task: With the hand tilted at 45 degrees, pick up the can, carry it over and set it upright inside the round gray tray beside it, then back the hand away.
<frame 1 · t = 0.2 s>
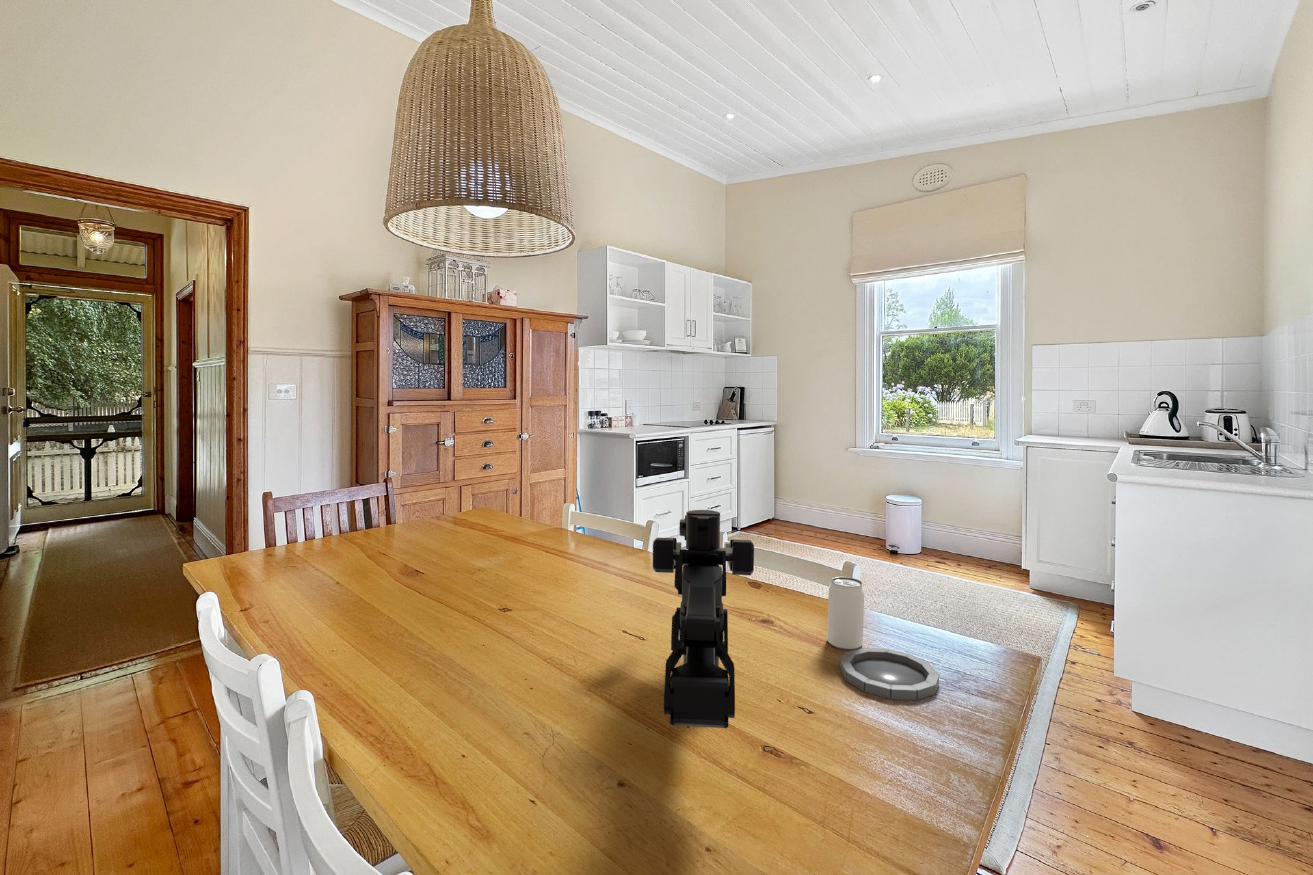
hand: (703, 545, 120), 17 cm above the table, tool horizontal, fingers open, 9 cm apart
can: (844, 644, 114), on the table
round gray tray: (888, 676, 101), on the table
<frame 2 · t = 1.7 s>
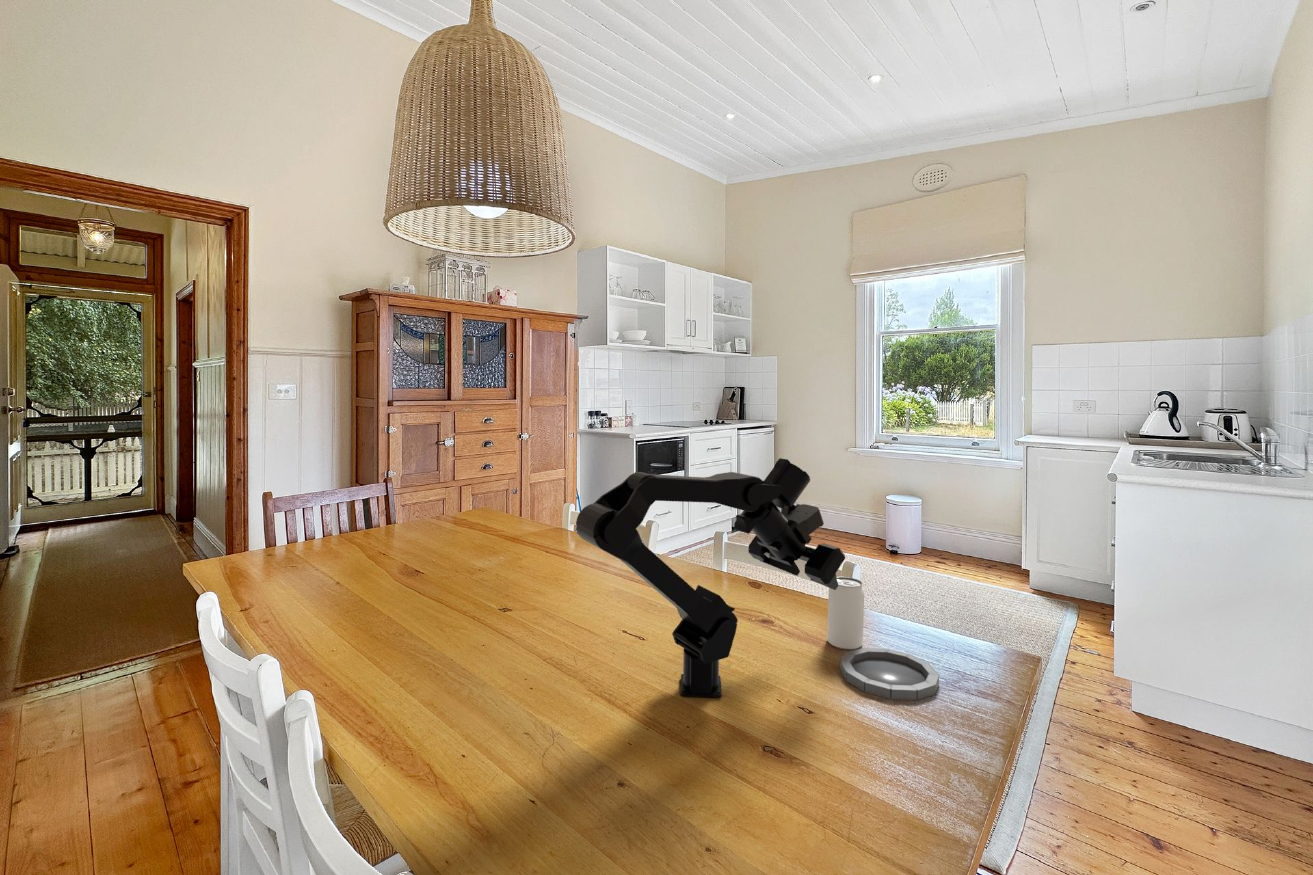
hand: (816, 580, 109), 14 cm above the table, tool tilted 45°, fingers open, 9 cm apart
nothing on the table moved.
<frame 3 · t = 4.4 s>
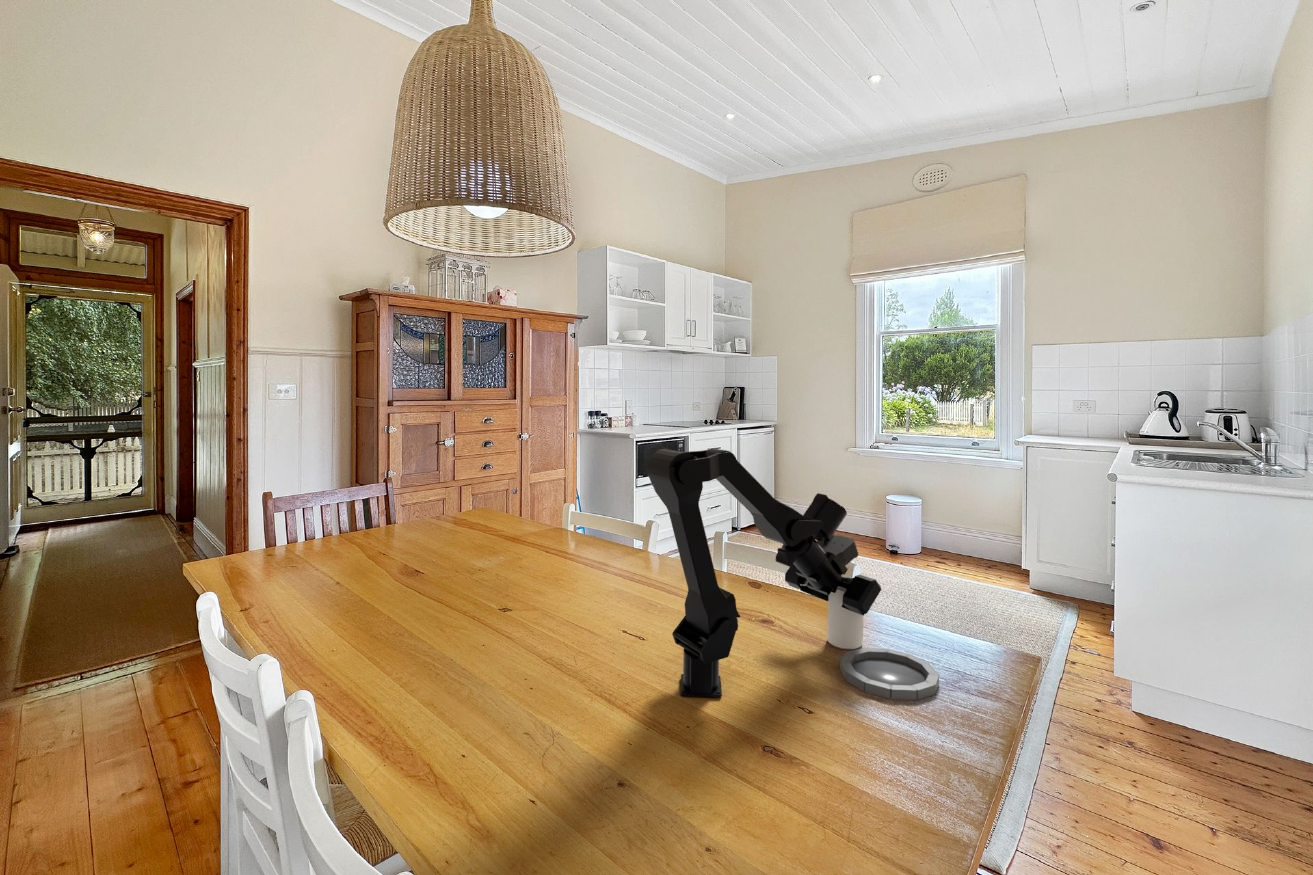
hand: (850, 607, 114), 7 cm above the table, tool tilted 45°, fingers closed on can, 6 cm apart
can: (844, 644, 114), on the table, touching gripper
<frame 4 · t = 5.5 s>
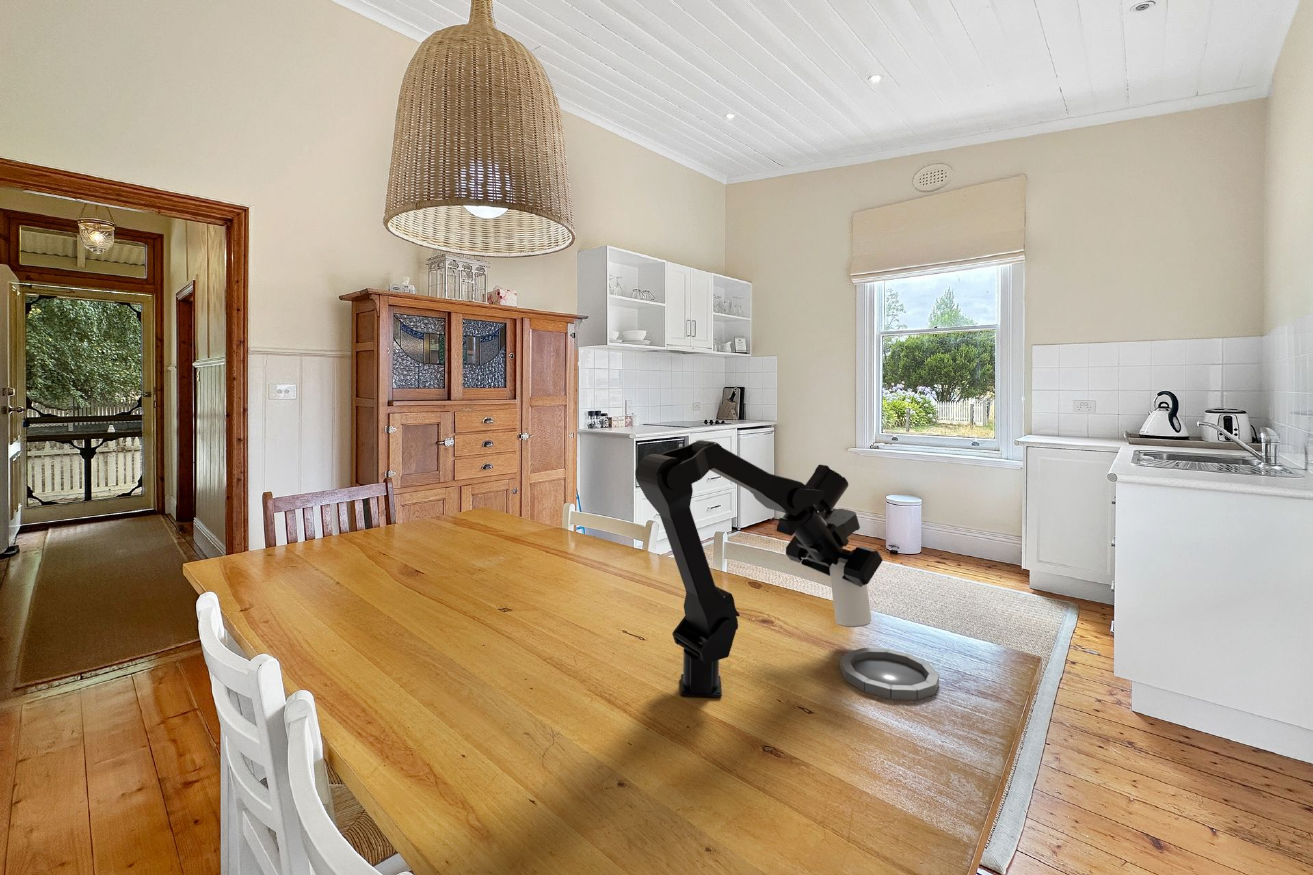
hand: (851, 581, 114), 12 cm above the table, tool tilted 45°, fingers closed on can, 6 cm apart
can: (853, 623, 112), point 4 cm above the table, touching gripper
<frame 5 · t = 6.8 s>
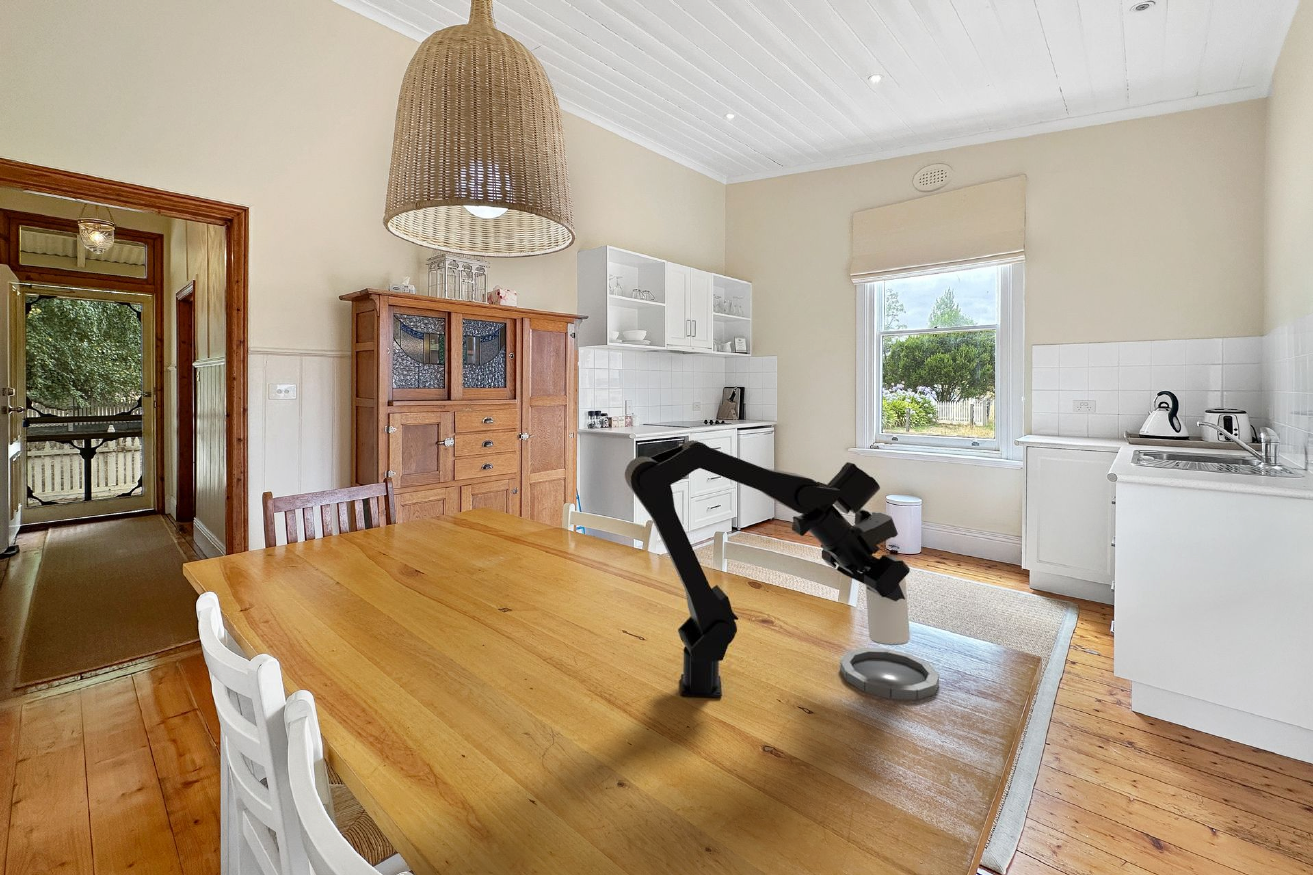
hand: (891, 594, 102), 13 cm above the table, tool tilted 45°, fingers closed on can, 6 cm apart
can: (889, 641, 101), point 6 cm above the table, touching gripper
when the fingers open (9 cm above the table, at t = 8.6 s): can drops 1 cm, resting on round gray tray.
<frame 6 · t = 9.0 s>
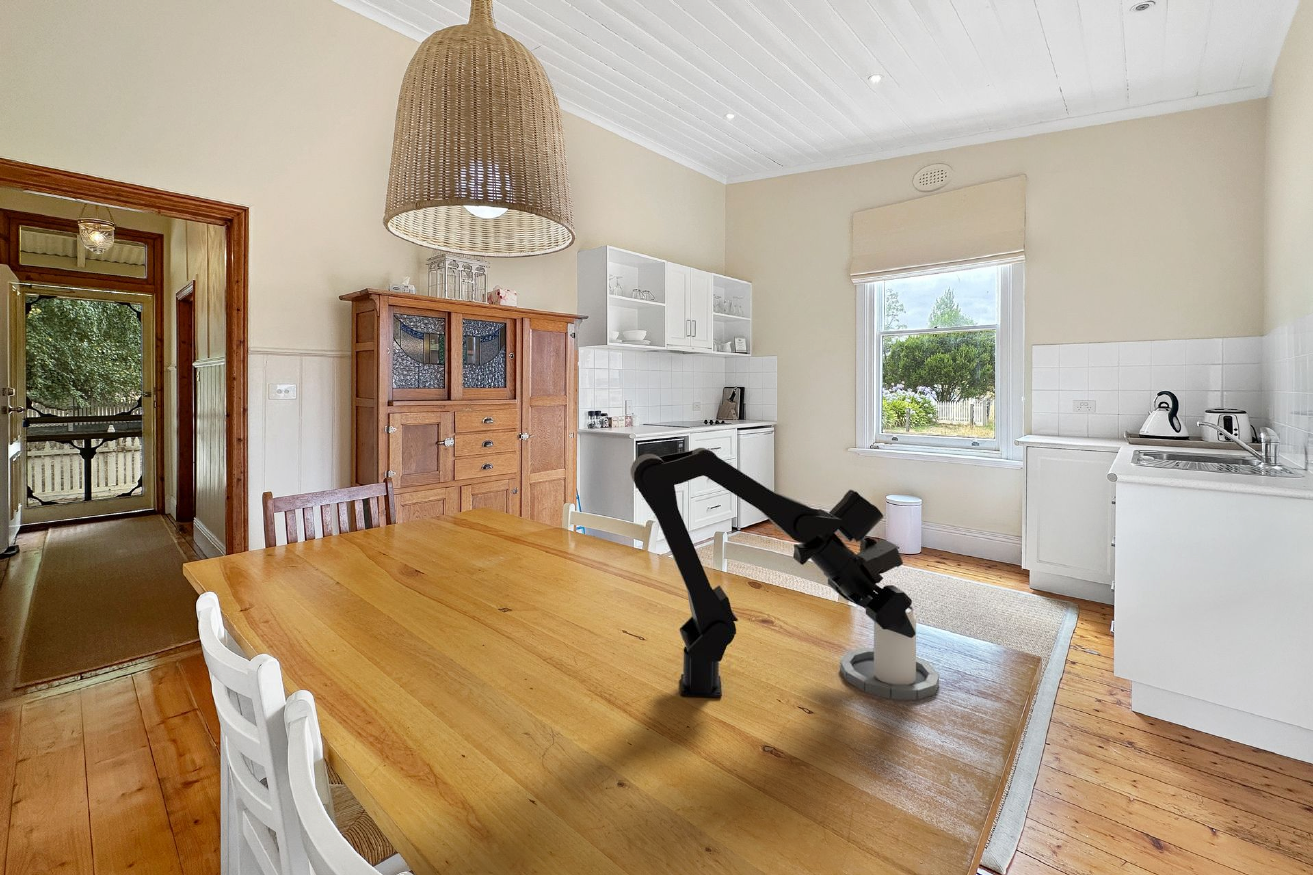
hand: (898, 624, 100), 9 cm above the table, tool tilted 45°, fingers open, 9 cm apart
can: (894, 679, 99), resting on round gray tray, touching gripper
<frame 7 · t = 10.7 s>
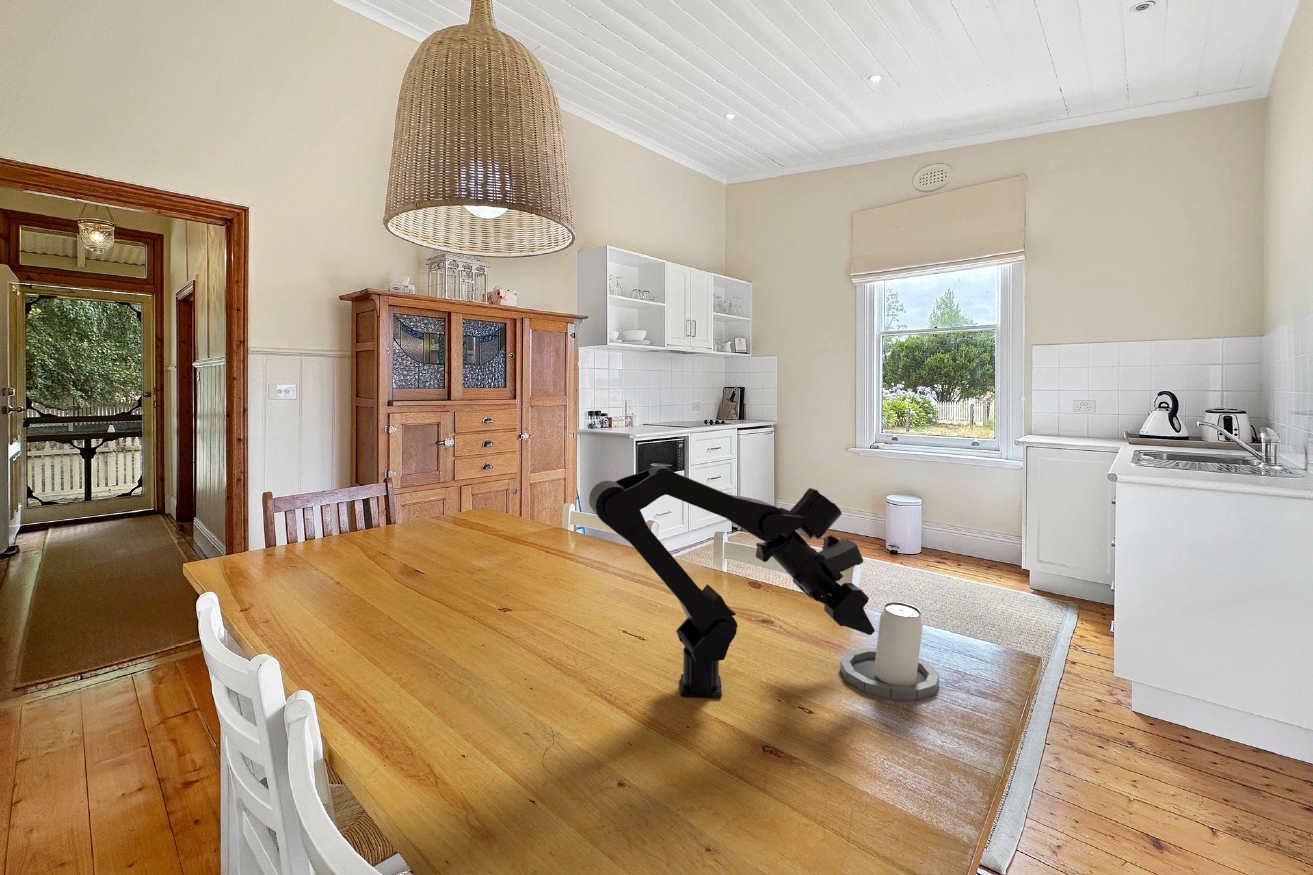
hand: (859, 621, 101), 9 cm above the table, tool tilted 45°, fingers open, 9 cm apart
can: (894, 678, 99), resting on round gray tray
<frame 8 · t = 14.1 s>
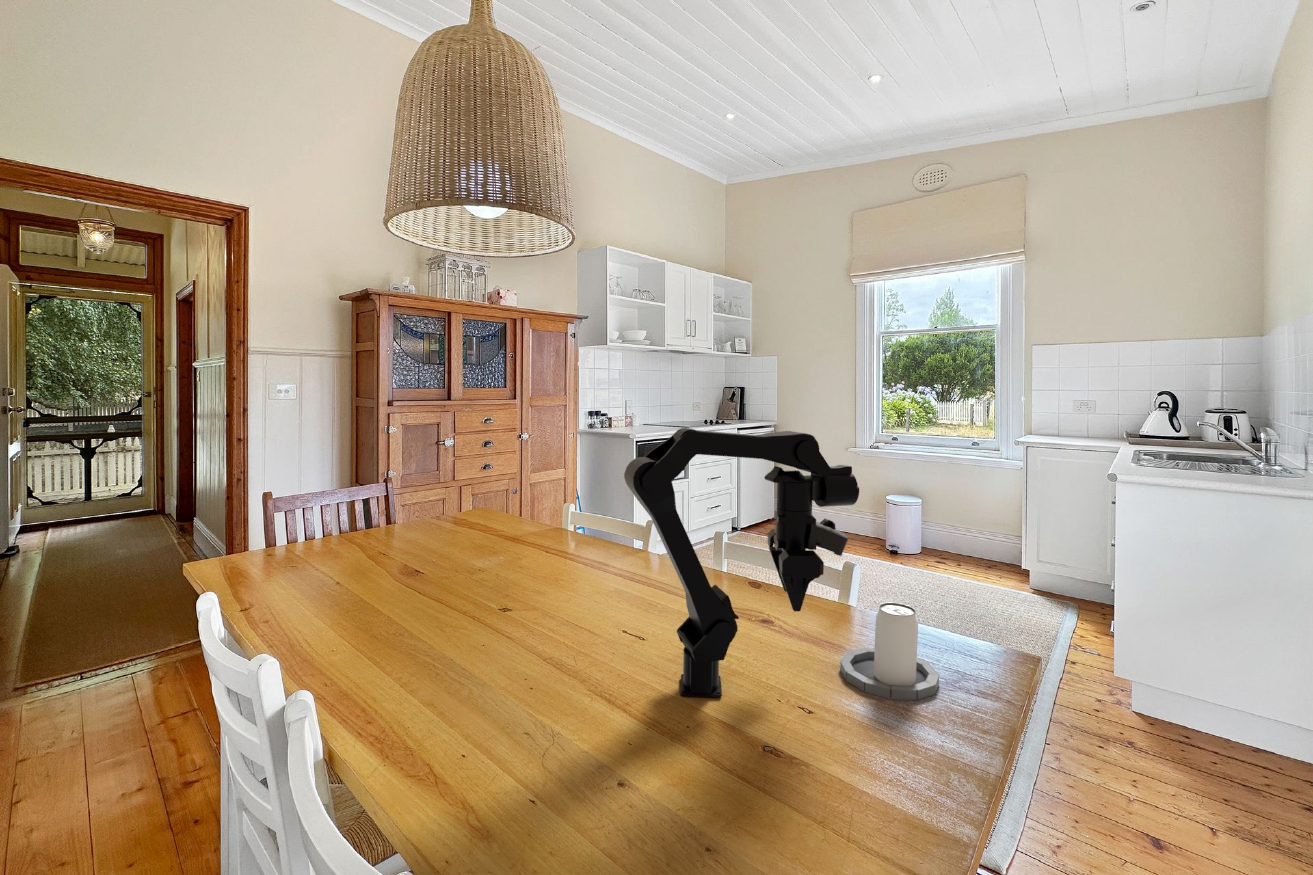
hand: (791, 600, 100), 13 cm above the table, tool pointing down, fingers open, 9 cm apart
at the end: can 1.7 cm off-centre on the round gray tray, point 0.2 cm above the round gray tray's base; can tilted 0°; the gripper is holding nothing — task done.
